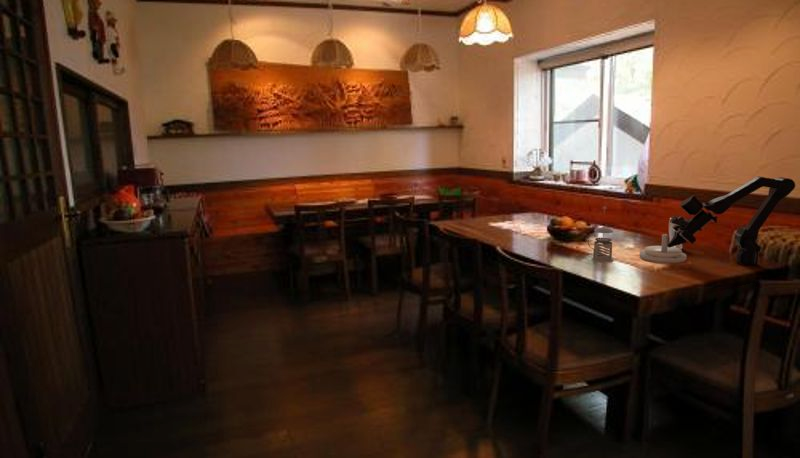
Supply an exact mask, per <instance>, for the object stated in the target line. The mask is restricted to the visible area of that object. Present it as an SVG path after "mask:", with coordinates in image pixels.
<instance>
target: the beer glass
mask: <svg viewBox="0 0 800 458" xmlns="http://www.w3.org/2000/svg"><path fill="white" fill-rule="evenodd" d="M671 219H672V217H669V219H668V220H669V221H668V238H669V242H670V241H671V240H672V238H673V237H674V229H673V228H672V227H673V226H675V225H677V224H673V223H671V222H670V221H671ZM673 247H675V248H679V249H681V250H682V249H683V244H680V245H676V246H673Z"/></svg>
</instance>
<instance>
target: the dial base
mask: <svg viewBox="0 0 800 458" xmlns="http://www.w3.org/2000/svg"><path fill="white" fill-rule="evenodd" d="M644 252H645V249H642V250H640V251H639V256H640V257H639V258H640V259H641V258H642V259H641V260H643V259H644V260H643V261H646V262H651V261H652V262H653V263H659V264H660V263H661V264H678V263H679V264H680V263H684V262H686V261H687V254H686V253H684V252H682V254H681V256H679V257H656V256H650V255H647V254H645V253H644Z"/></svg>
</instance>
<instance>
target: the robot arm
mask: <svg viewBox="0 0 800 458" xmlns="http://www.w3.org/2000/svg"><path fill="white" fill-rule="evenodd" d="M763 187H764V188H769V190H768V195H767V197H765V199H764V201H763V202H762V203H761V205H760V207H759V208H758V209H757V211H756V212H755V213H754V215H753V216H752V218H751V219H750V221H749V222H748V224H746V225H744V227H742V226H741V225H740V226H739V227H738V229H737V231H736V232H735V233H733V235H734V237H733V241H734V242H735V244H737V246H738V252H737V257H736V261H735V263H737V264H740V265H742V266H746V267H748V266H750V267H751V266H760V263H758V262H759V254H760V251H761V250H762V247H761V246H760V245H759V244H758V243H757V239H758V238H759V237H758V236H759V232H760V230H761V228H762V227H763V225H764V224H765V222H766V221H767V220H768V218H769V217H770V216H771V214H772V213H773V212H774V210H775V209H776V207H777V205H778V204H779V203H780V201H781V200H783V199H784V198H786V197H787V196H788V195H790V194H791V193H792V192H793V190H795V188H796V182H795V181H794V180H793V179H791V178H787V177H782V176H780V177H775V178H770V177H764V176H759V175H758V176H755V177H754V178H753V179H751V180H750V181H748V182H745V184H742V185H741V186H739V187H738V188H736V189H734V190H733V191H730V192H729V193H727V194H725V195H722V196H719V197H716V198H715V197H714V198H713V199H711V200H709V201H708V202H701V201H700V200H699V199H698V198H697V197H696V196H695V195H691V196H690V197H688V198H686V199H684V200H683V201H682V202H681V203H680V205H679V207H680V208H681V209H683V211H685V213H687V214H688V215H689V216H692V215H693V216H692V218H691V217H690V218H688V219H686V218H685V217H683V216H679V217H678V216H676V215H672V217H671V218H672V219H671V221H670V222H671V223H673V224H677V225H675V226H673V227H672V228H673V229H674V237H673V238H672V240H671V241H670V240H669V241H668V245H667V246H668V247H669V248H670V247H673V246H676V245H680V244H682V245H683V244H687V243H688V242H689V243H690V244H692V245H693V244H694V243H695V242H697V238H696V237H695V235H696V234H697V233H698V232H701V231H703V228H704V227H705V226H706V225H707V224H709V223H710V222H711V221H712V222H714V223H715V224H717V223H718V216H717V215H722V214H724V213H725V212H726V211H728V210H729V209H730V208H731V207H732V206H733V205H734V204H735V203H736V202H738V201H740V200H742V199H743V198H745V197H747V196H748V195H750V194H752V193H754V192H756V191H758V190H759V189H760V188H763ZM705 210H706V211H705ZM713 214H715V215H713Z"/></svg>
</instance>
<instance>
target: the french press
mask: <svg viewBox="0 0 800 458" xmlns="http://www.w3.org/2000/svg"><path fill="white" fill-rule="evenodd" d="M607 208H608V207H607V206H602V209H601V210H603V214H605V212H606V210H607ZM594 232H595V233H591V234H590V235H588V237H587V245H588V247H589V248H590V249H591V250H593V253H592V254H593V255H592V258H591V261H593V262H597V263H612V262H614V261H615V260H614V259H613V257H612V255H613V242H612V238H609V237H604V236H605V235H604V234H612V233H613V232H614V230H613V229H612V228H610V227H605V226H601V227H597V228H595V229H594ZM596 233H599V234H602V237H596ZM592 236H594V237H596V238H595V239H594V240H595V241H594V242H593V243H594V244H593V247H591V245H590V243H589V242H590V238H591V237H592Z"/></svg>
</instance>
